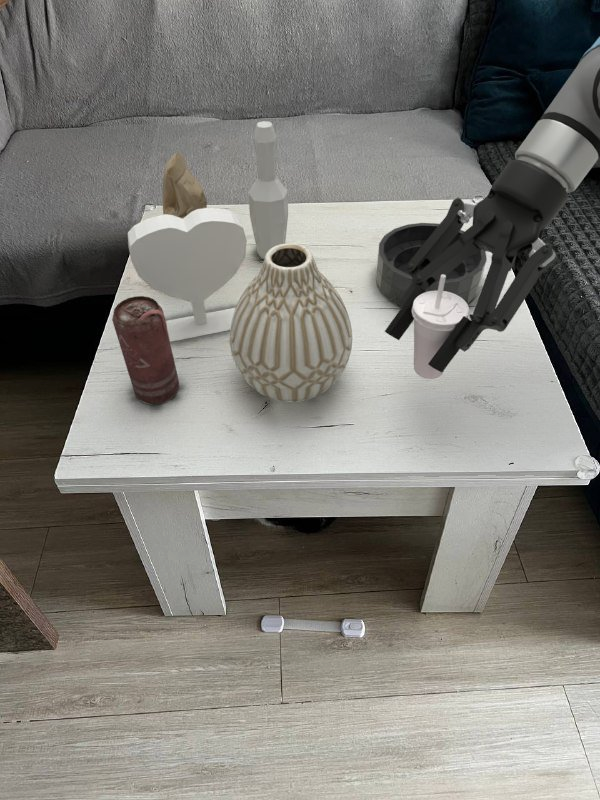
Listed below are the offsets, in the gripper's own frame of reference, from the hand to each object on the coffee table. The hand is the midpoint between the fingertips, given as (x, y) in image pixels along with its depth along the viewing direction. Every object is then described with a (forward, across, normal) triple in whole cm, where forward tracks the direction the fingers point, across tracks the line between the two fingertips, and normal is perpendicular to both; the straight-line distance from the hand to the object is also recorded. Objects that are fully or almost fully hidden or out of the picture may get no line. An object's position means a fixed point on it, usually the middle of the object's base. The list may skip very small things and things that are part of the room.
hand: (413, 351), depth 70 cm
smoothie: (+1, 0, -6) cm, 6 cm away
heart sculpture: (+16, +32, 0) cm, 36 cm away
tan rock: (+12, +44, -5) cm, 46 cm away
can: (+24, +24, +8) cm, 35 cm away
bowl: (-9, +19, -25) cm, 32 cm away
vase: (+13, +15, -3) cm, 20 cm away
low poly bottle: (+2, +42, -14) cm, 44 cm away
